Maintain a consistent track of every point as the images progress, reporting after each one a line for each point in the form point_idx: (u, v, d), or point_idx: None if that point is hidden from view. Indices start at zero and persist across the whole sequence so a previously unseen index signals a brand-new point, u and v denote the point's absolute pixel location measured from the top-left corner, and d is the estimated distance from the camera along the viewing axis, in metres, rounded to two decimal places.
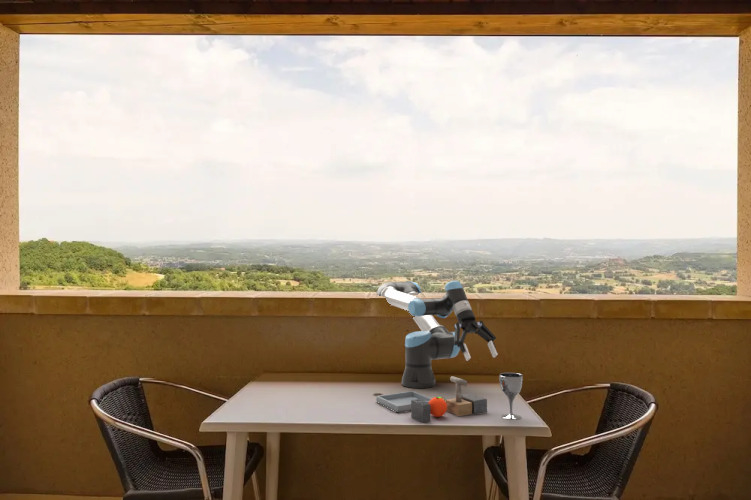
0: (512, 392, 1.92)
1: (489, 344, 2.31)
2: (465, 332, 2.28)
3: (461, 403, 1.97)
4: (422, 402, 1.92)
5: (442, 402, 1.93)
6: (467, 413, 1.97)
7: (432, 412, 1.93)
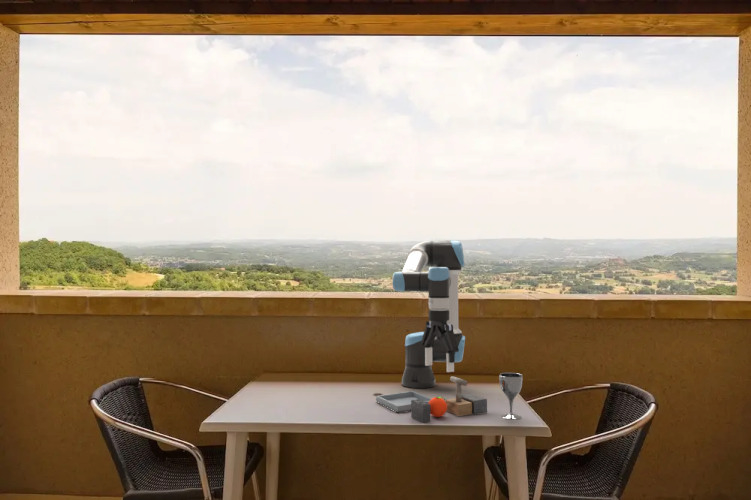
0: (512, 392, 1.92)
1: None
2: (429, 335, 2.00)
3: (461, 403, 1.97)
4: (422, 402, 1.92)
5: (442, 402, 1.93)
6: (467, 413, 1.97)
7: (432, 412, 1.93)
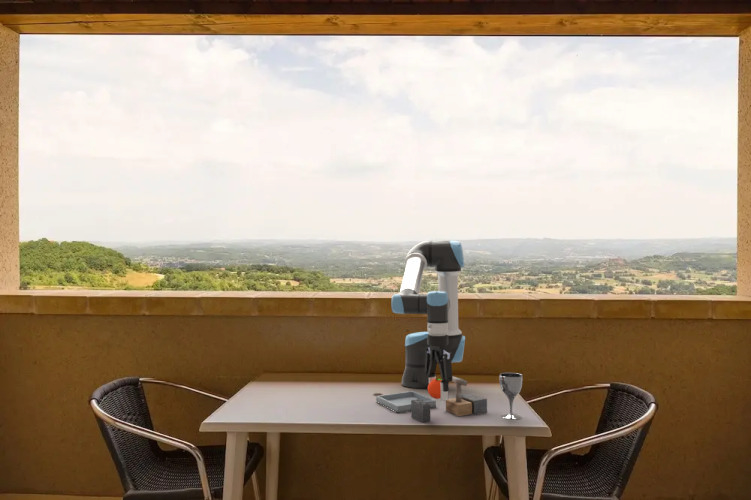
0: (512, 392, 1.92)
1: None
2: (430, 362, 1.98)
3: (461, 403, 1.97)
4: (422, 402, 1.92)
5: None
6: (467, 413, 1.97)
7: (432, 394, 1.94)
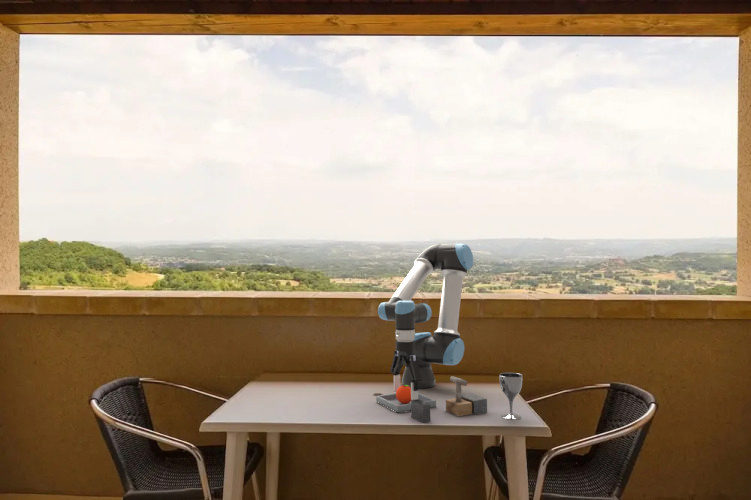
0: (512, 392, 1.92)
1: None
2: (397, 364, 2.15)
3: (461, 403, 1.97)
4: (422, 402, 1.92)
5: (409, 390, 2.09)
6: (467, 413, 1.97)
7: (399, 399, 2.09)
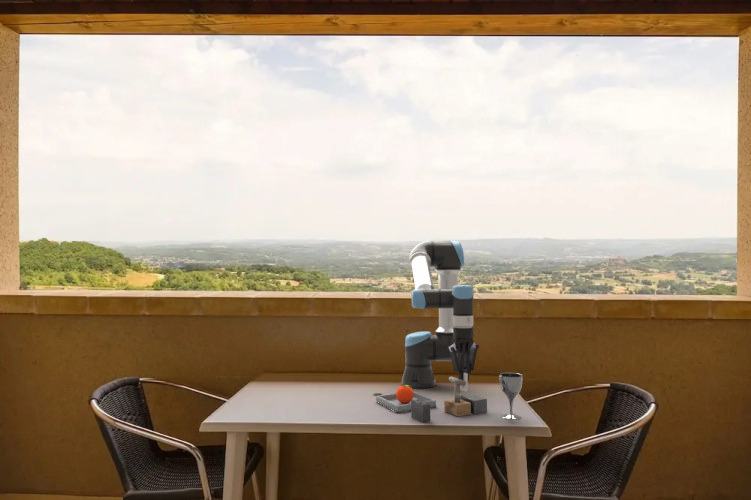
0: (512, 392, 1.92)
1: None
2: (462, 356, 2.00)
3: (460, 403, 1.97)
4: (422, 402, 1.92)
5: (409, 390, 2.09)
6: (466, 413, 1.97)
7: (399, 399, 2.09)
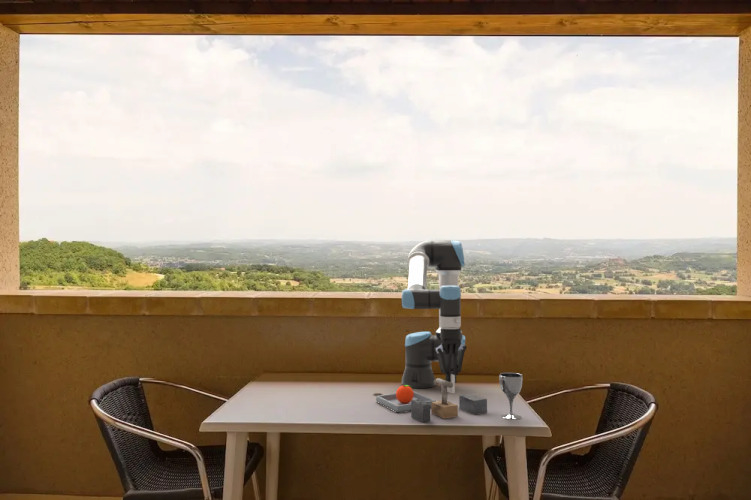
0: (512, 392, 1.92)
1: None
2: (449, 358, 1.97)
3: (446, 405, 1.94)
4: (422, 402, 1.92)
5: (409, 390, 2.09)
6: (453, 415, 1.94)
7: (399, 399, 2.09)
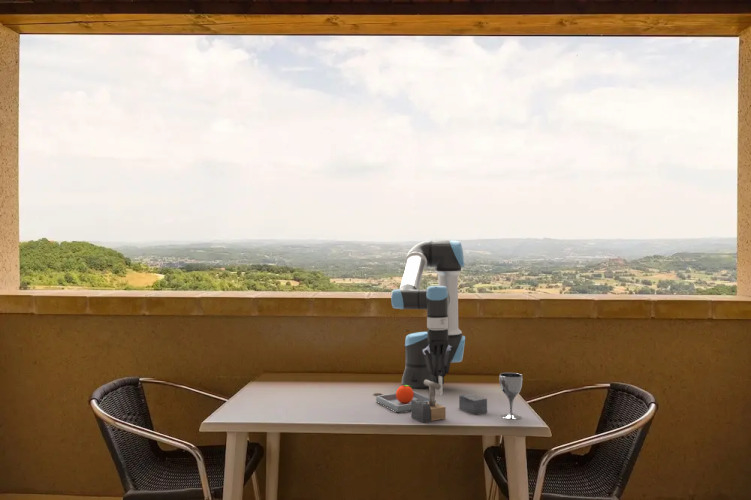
0: (512, 392, 1.92)
1: None
2: (437, 359, 1.94)
3: (434, 407, 1.92)
4: (422, 402, 1.92)
5: (409, 390, 2.09)
6: (440, 418, 1.91)
7: (399, 399, 2.09)
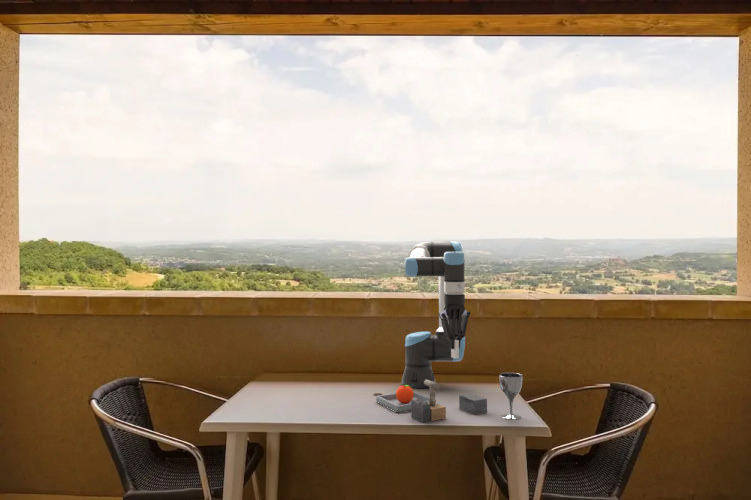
0: (512, 392, 1.92)
1: None
2: (453, 323, 1.98)
3: (434, 407, 1.92)
4: (422, 402, 1.92)
5: (409, 390, 2.09)
6: (441, 418, 1.92)
7: (399, 399, 2.09)
